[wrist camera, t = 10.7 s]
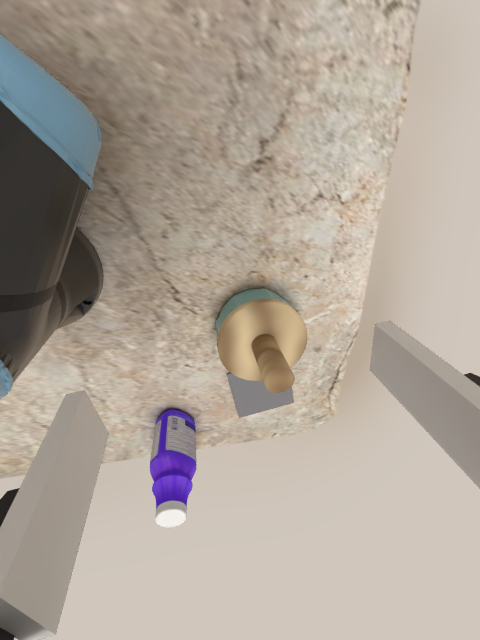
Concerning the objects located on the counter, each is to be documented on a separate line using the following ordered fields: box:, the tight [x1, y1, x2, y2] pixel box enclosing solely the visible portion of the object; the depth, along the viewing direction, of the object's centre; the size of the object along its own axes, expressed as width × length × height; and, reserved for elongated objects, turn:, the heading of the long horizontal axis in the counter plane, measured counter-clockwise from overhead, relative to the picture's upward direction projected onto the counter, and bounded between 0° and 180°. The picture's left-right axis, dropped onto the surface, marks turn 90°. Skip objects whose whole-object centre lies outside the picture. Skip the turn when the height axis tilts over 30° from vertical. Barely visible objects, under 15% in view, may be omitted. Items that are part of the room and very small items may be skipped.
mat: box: [227, 373, 294, 418], centre depth 53 cm, size 11×11×1 cm
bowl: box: [215, 288, 294, 333], centre depth 44 cm, size 12×12×5 cm
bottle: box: [150, 409, 196, 527], centre depth 46 cm, size 7×6×17 cm
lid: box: [217, 299, 307, 393], centre depth 38 cm, size 13×13×10 cm
